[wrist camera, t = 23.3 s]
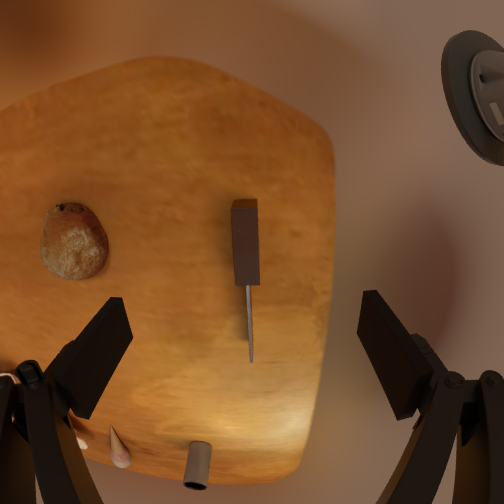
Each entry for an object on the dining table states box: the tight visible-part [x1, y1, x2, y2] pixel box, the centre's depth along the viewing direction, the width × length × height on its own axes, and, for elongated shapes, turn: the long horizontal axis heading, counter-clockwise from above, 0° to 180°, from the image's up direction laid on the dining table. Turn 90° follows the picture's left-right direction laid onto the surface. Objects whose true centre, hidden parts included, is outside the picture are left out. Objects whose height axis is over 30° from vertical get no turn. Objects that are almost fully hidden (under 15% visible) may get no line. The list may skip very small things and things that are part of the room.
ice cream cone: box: [110, 426, 131, 468], centre depth 48 cm, size 5×5×15 cm
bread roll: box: [41, 203, 108, 280], centre depth 31 cm, size 10×10×8 cm
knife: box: [231, 199, 260, 363], centre depth 32 cm, size 19×2×5 cm, turn 2°
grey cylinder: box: [183, 441, 212, 490], centre depth 43 cm, size 4×4×10 cm
